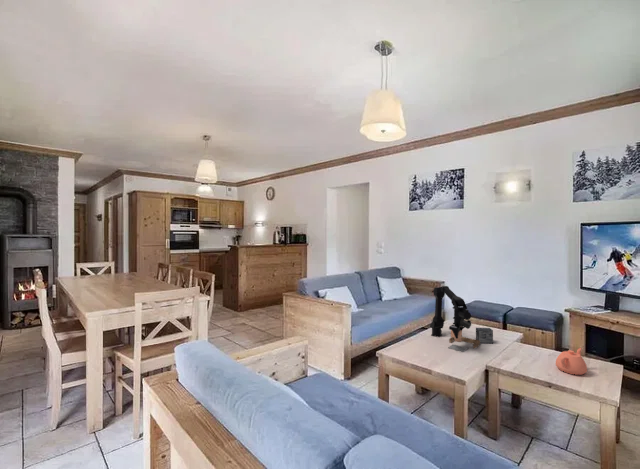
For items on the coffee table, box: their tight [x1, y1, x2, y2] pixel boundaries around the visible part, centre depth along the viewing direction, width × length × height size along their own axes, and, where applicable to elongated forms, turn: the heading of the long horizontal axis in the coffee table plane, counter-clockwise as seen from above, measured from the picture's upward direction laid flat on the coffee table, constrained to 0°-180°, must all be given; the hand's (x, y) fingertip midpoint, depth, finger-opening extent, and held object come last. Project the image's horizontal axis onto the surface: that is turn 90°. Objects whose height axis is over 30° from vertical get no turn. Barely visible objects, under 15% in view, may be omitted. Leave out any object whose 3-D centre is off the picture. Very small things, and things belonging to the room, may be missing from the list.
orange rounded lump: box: [555, 347, 588, 376], centre depth 195 cm, size 22×15×12 cm
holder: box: [448, 336, 481, 349], centre depth 241 cm, size 18×11×3 cm, turn 47°
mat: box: [448, 344, 469, 353], centre depth 232 cm, size 11×9×1 cm
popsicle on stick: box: [450, 329, 463, 343], centre depth 232 cm, size 5×7×8 cm
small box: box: [475, 327, 494, 345], centre depth 244 cm, size 11×6×10 cm, turn 84°
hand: (458, 337), depth 232 cm, fingers closed on popsicle on stick, 5 cm apart
